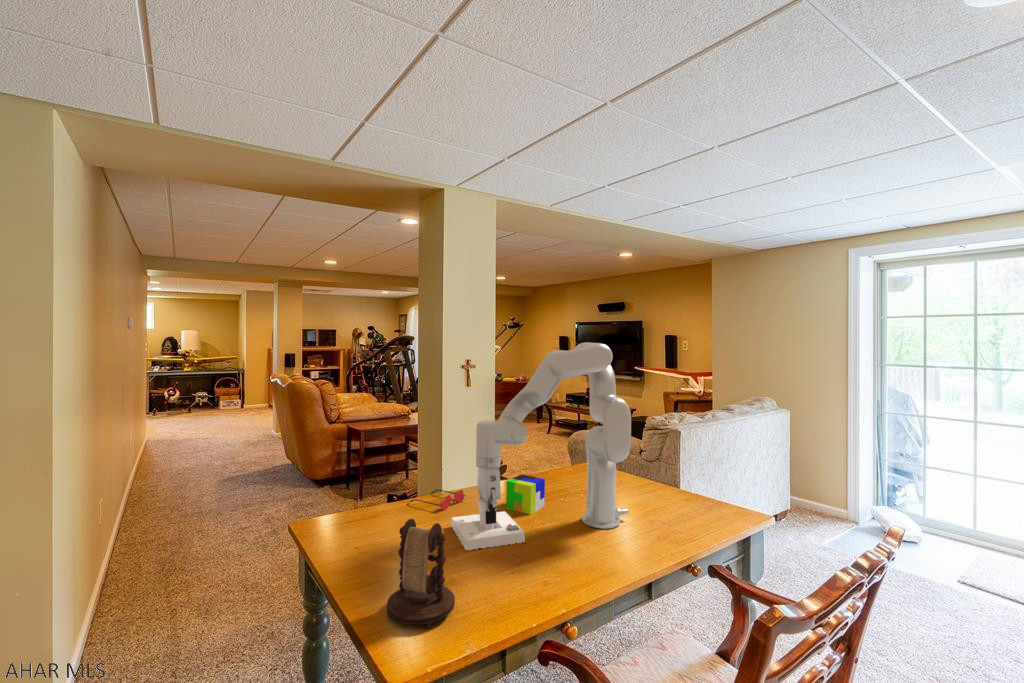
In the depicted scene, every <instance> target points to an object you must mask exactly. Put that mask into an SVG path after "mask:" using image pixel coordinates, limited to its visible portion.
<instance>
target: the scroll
mask: <svg viewBox="0 0 1024 683" xmlns="http://www.w3.org/2000/svg"><path fill="white" fill-rule="evenodd" d="M442 531H443V530H442V526H441V524H440V523H438V522H435V523H434V524H433V525H432V527H431V528H430V529H428V528H421V527H417V524H416V521H415V519H414V518H409V519H407V521H406V522H405V523H404V525H403V526H402V527H400V529H399V534H400V536H399V538H400V543H399V545H400V548H399V549H398V550H397V551H398V556H399V558H400V562H399V567H400V569H399V570H398V575H399V579H400V582H399V584H398V586H399V587H398V588H399V589H397V590H396V591H394V592H393V593H392V594H390V596H388V599H387V602H386V613H387V615H388V618H389V620H390V619H392V620H393V621H396V622H398V623H400V624H404V625H410V626H411V625H412V626H421V625H425V626H426V628H427V629H431V626H432V623H436V622H438V621H440V620H443V619H444V618H446V617H447V616H449V615H450V614H451V612H452V611H453V610H454V608H455V605H456V602H455V601H456V600H455V599H456V596H455V595H454V594H455V593H454V592H453V591H452V590H451V589H450V588H448V587H446V586H445V585H444V583H445V582H446V579H445V576H444V574H445V570H444V566H445V564H446V561H447V558H446V555H445V547H444V545H445V544H446V543H445V542H446V541H445V540H446V534H444V533H443V532H442ZM436 550H437V552H436ZM435 552H436V553H437V555H435V554H434V553H435ZM429 561H430V562H432V563H433V562H435V564H436V565H434V566H433V567H432V569H431V570H430V573H429V572H428V568H429V567H428V565H429Z"/></svg>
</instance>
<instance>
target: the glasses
mask: <svg viewBox="0 0 1024 683" xmlns="http://www.w3.org/2000/svg"><path fill="white" fill-rule="evenodd" d="M438 491H440V492H445V493H448V494H449V495H447V496H445V497H443V498H442V499H441V500H440V504H438V503H434V502H429V501H425V500H422V499H421V500H420V499H416V498H415V499H411V500H410V501H409V502H411V503H412V502H414V501H418V502H420V503H426V504H429V505H434V506H438V507H440V509H441V510H442V511H447V510H446V509H448V508H449V506H450V505H451V503H452V502H459V503H463V502H464V498H465V497H466V494H464V489H462V490H461V489H460V490H458V491H455V492H452V491H447V490H443V489H435V490H434V491H432V492H430V495H432V494H435V493H436V492H438ZM452 495H453V497H454V498H452V497H451V496H452ZM451 501H452V502H451Z"/></svg>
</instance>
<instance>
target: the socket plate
mask: <svg viewBox="0 0 1024 683" xmlns="http://www.w3.org/2000/svg"><path fill="white" fill-rule="evenodd" d="M451 528H452V529H453V531H455V532H454V533H455V535H456V537H457V536H458V537H457V538H458V540H459V542H460V541H461V542H460V543H461V545H462V546H464V547H463V548H464V550H465V551H466V550H468V551H472V550H473V549H475V550H479V549H478V548H482V549H488V548H487V547H489V548H495V546H496V547H502V546H501V545H503V546H509V545H508V544H510V545H515V543H517V544H523V543H522V542H524V543H525V542H526V540H525V537H526V534H525V533H526V532H525V530H523V528H521V527H520V526H519V525H518V523H517V522H516V521H514V519H513V518H512V517H511V515H509V514H508V513H507V512H506V510H505V511H496V523H494V529H489V530H481V524H480V515H479V513H478V514H470V515H463V516H462V515H461V516H454V517H451Z"/></svg>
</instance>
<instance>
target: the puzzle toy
mask: <svg viewBox="0 0 1024 683" xmlns="http://www.w3.org/2000/svg"><path fill="white" fill-rule="evenodd" d="M545 482H546V479H545V478H541V477H537V476H531V475H528V474H527V475H526V474H519V475H517V476H515V477H512V478H509V479H508V480H506V489H505V490H506V493H505V494H506V495H505V496H506V498H505V499H506V500H505V504H506V505H505V508H508V509H507V510H509V509H512V510H511V511H513V510H515V511H514V512H517V511H519V512H518V513H521V512H523V513H522V514H525V513H527V514H526V515H529V514H531V515H532V513H533V514H534V513H536V512H538V511H539V510H541V509H543V508H544V507H545V497H546V496H545V495H546V493H545V490H546V489H545V487H546V483H545ZM543 506H544V507H543ZM542 507H543V508H542ZM540 508H541V509H540ZM537 510H538V511H537ZM535 511H536V512H535Z"/></svg>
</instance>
